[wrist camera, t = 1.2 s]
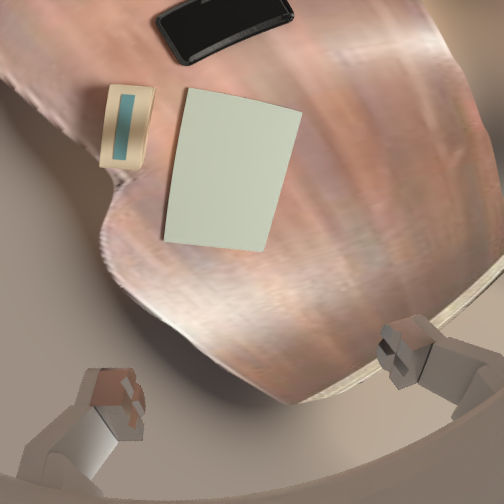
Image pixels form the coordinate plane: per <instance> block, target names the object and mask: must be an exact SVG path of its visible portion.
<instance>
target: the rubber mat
mask: <svg viewBox="0 0 504 504" xmlns="http://www.w3.org/2000/svg"><path fill="white" fill-rule="evenodd" d="M301 116H302V112H299V111H295V110H292V109H288V108H284V107H281V106H277V105H273V104H269V103H265V102H261V101H256V100H252V99H247V98H243V97H238V96H233V95H228V94H223V93H218V92H212V91H206V90H200V89H194V88H189V90H188V95H187V99H186V104H185V109H184V114H183V119H182V124H181V129H180V134H179V139H178V145H177V150H176V156H175V162H174V168H173V175H172V181H171V188H170V195H169V202H168V210H167V218H166V226H165V235H164V242H172V243H181V244H191V245H200V246H210V247H219V248H229V249H238V250H248V251H257V252H263V251H264V248H265V244H266V241H267V237H268V234H269V230H270V227H271V223H272V220H273V216H274V213H275V209H276V206H277V202H278V199H279V195H280V192H281V188H282V185H283V181H284V178H285V174H286V170H287V167H288V163H289V160H290V156H291V152H292V149H293V145H294V142H295V138H296V134H297V131H298V127H299V123H300V120H301Z"/></svg>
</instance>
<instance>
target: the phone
mask: <svg viewBox="0 0 504 504" xmlns="http://www.w3.org/2000/svg"><path fill="white" fill-rule="evenodd" d="M293 19H294V12H293V10H292V8H291V7H290V5H289V3H288V1H287V0H188V1H186V2H184V3H182V4H180V5H178V6H176V7H174V8H172V9H170V10H168V11H166V12H164V13H162V14H160V15H159V16H158V17H157V19H156V25H157V27H158V29H159V31H160V32H161V34H162V35H163V37H164V39H165V40H166V42H167V43H168V45H169V47H170V48H171V50H172V52H173V53H174V55H175V56H176V58H177V60H178V61H179V63H180V64H182V65H183V66H191V65H193V64H195V63H197V62H199V61H201V60H203V59H205V58H207V57H209V56H211V55H213V54H215V53H217V52H219V51H221V50H223V49H225V48H227V47H229V46H232V45H234V44H236V43H238V42H241V41H243V40H245V39H248V38H250V37H252V36H255V35H257V34H260V33H262V32H265V31H268V30H270V29H273V28H276V27H278V26H281V25H284V24H287V23H289V22H291V21H292V20H293Z"/></svg>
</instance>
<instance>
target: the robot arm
mask: <svg viewBox="0 0 504 504" xmlns="http://www.w3.org/2000/svg"><path fill="white" fill-rule="evenodd" d="M381 336H382V337H383V339H382V340H381V341H380V343H379V344H378V348H377V357H378V361H379V363H380V365H381V367H382V368H383V369H384V370H387V371H389V372H390V376H389V378H390V379H391V381H392V382H393V383H394V385H395V386H396V387H397V389H398V390H400V389H403V388H405V387H408V386H411V385H413V384H416V383H418V384H419V385H421V386H422V387H424V388H426V389H428V390H430V391H432V392H433V393H435V394H437V395H439V396H441V397H443V398H445V399H446V400H448V401H450V402H452V403H454V404H456V405H457V407H456V409H455V410H454V412H453V414H452V416H451V418H452V420H453V422H451V423H449V424H448V425H446V426H444V427H442V428H441V429H439V430H437V431H435V432H433V433H431V434H430V435H428V436H426V437H424V438H422V439H420V440H418V441H416V442H414V443H412V444H410V445H408V446H406V447H403V448H401V449H399V450H397V451H395V452H393V453H390V454H388V455H386V456H383V457H381V458H379V459H376V460H373V461H371V462H368V463H366V464H363V465H361V466H358V467H355V468H352V469H349V470H346V471H343V472H340V473H337V474H334V475H331V476H327V477H324V478H321V479H317V480H313V481H310V482H306V483H302V484H298V485H294V486H289V487H285V488H280V489H275V490H270V491H265V492H259V493H253V494H248V495H240V496H232V497H224V498H213V499H200V500H180V501H179V500H178V501H177V500H176V501H154V500H131V499H118V498H108V497H104V492H103V491H102V490H101V489H100V488H99V487H98V486H97V485H95V484H94V483H93V482H92V481H91V479H92V478H93V477H94V475H95V474H96V472H97V471H98V470H99V468H100V467H101V466H102V464H103V463H104V461H105V460H106V459H107V457H108V456H109V455H110V453H111V452H112V450H113V449H114V448H115V446H116V445H117V444H118V441H143V431H144V423H143V421H142V419H141V417H142V416H143V415H144V414H145V397H144V393H143V390H142V388H141V386H140V385H139V384H137V383H136V382H135V381H136V375H135V372H134V370H133V369H132V368H130V367H128V368H88V369H87V370H86V371H85V374H84V376H83V380H82V382H81V386H80V389H79V392H78V395H77V398H76V401H75V405H74V406H69V407H68V408H67V409H66V410H65V411H64V412H63V413H62V414H60V415H59V416H58V417H57V418H56V419H55V420H54V421H53V422H52V423H50V424H49V425H48V426H47V427H46V428H45V429H43V430H42V431H41V432H40V433H39V434H38V435H37V436H36V437H35V438H33V439H32V440H31V441H30V442H29V443H28V444H27V445H26V446H25V448H24V451H23V455H22V458H21V461H20V465H19V469H18V473H17V476H16V478H14V477H11V476H8V475H5V474H2V473H0V504H504V357H503V356H502V355H501V354H500V353H497V352H493V351H490V350H487V349H484V348H481V347H478V346H475V345H472V344H469V343H466V342H463V341H460V340H457V339H454V338H451V337H448V338H446V337H445V336H444V335H443V334H442V333H441V332H440V331H439V330H438V329H437V328H436V327H435V326H434V325H433V324H432V323H430V322H429V321H428V320H427V319H426V318H425V317H424V316H423V315H421V314H416V315H413V316H410V317H408V318H405V319H401V320H398V321H395V322H391V323H388V324H385V325H384V326H383V327H382V330H381Z"/></svg>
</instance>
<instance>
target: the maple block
mask: <svg viewBox="0 0 504 504" xmlns="http://www.w3.org/2000/svg"><path fill="white" fill-rule="evenodd" d="M155 93H156V88H155V87H146V86H133V85H116V84H110V86H109V92H108V98H107V104H106V111H105V118H104V126H103V134H102V143H101V154H100V167H105V168H117V169H129V170H139V169H140V167H141V166H142V164H143V162H144V160H145V153H146V146H147V139H148V132H149V126H150V120H151V114H152V109H153V103H154V98H155Z"/></svg>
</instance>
